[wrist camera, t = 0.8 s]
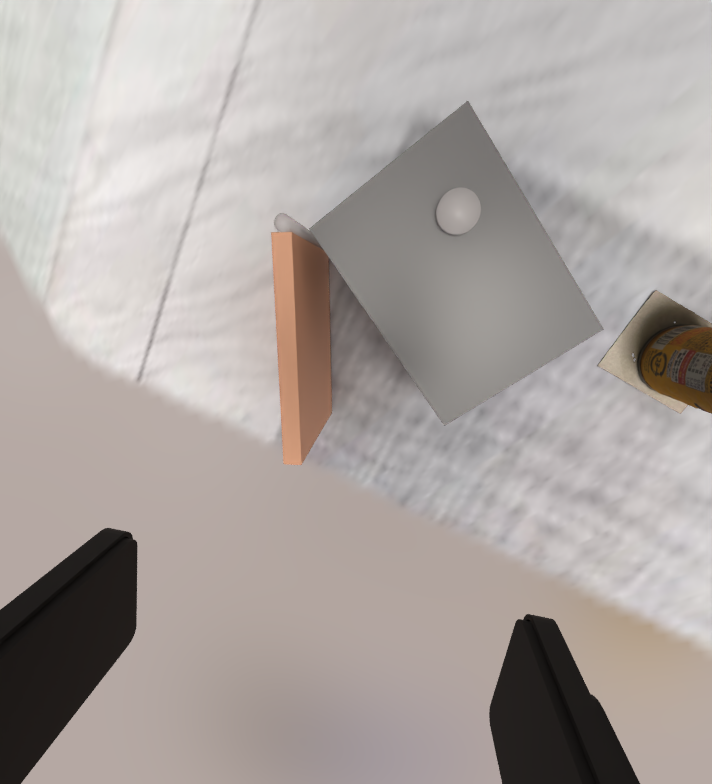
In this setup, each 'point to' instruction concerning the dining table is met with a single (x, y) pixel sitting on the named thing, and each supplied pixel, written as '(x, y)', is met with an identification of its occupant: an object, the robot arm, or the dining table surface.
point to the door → (301, 336)
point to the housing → (456, 268)
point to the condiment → (666, 355)
